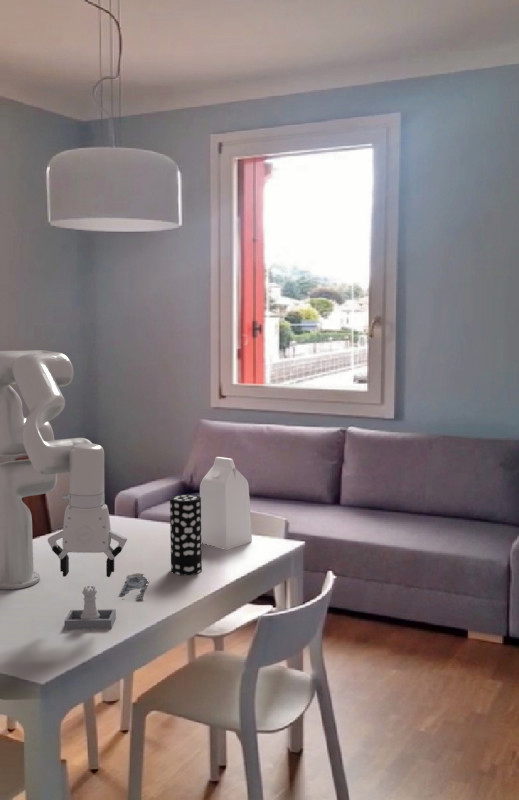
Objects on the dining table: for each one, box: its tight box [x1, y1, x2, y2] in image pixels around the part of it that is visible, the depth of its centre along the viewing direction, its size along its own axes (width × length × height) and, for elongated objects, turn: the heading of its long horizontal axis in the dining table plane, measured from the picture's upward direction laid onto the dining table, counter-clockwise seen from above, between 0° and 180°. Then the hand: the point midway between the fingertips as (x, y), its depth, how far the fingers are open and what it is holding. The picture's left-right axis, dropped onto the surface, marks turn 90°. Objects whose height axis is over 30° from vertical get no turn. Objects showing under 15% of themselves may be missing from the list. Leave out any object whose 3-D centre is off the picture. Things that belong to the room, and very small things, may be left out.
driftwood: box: [117, 573, 150, 601], centre depth 205 cm, size 21×7×2 cm, turn 0°
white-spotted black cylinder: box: [169, 494, 203, 576], centre depth 218 cm, size 8×8×20 cm
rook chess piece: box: [80, 585, 100, 620], centre depth 181 cm, size 4×4×8 cm
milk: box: [199, 456, 253, 550], centre depth 246 cm, size 12×12×26 cm
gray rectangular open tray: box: [64, 608, 117, 630], centre depth 181 cm, size 10×7×2 cm, turn 92°
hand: (87, 574), depth 181 cm, fingers open, 9 cm apart
